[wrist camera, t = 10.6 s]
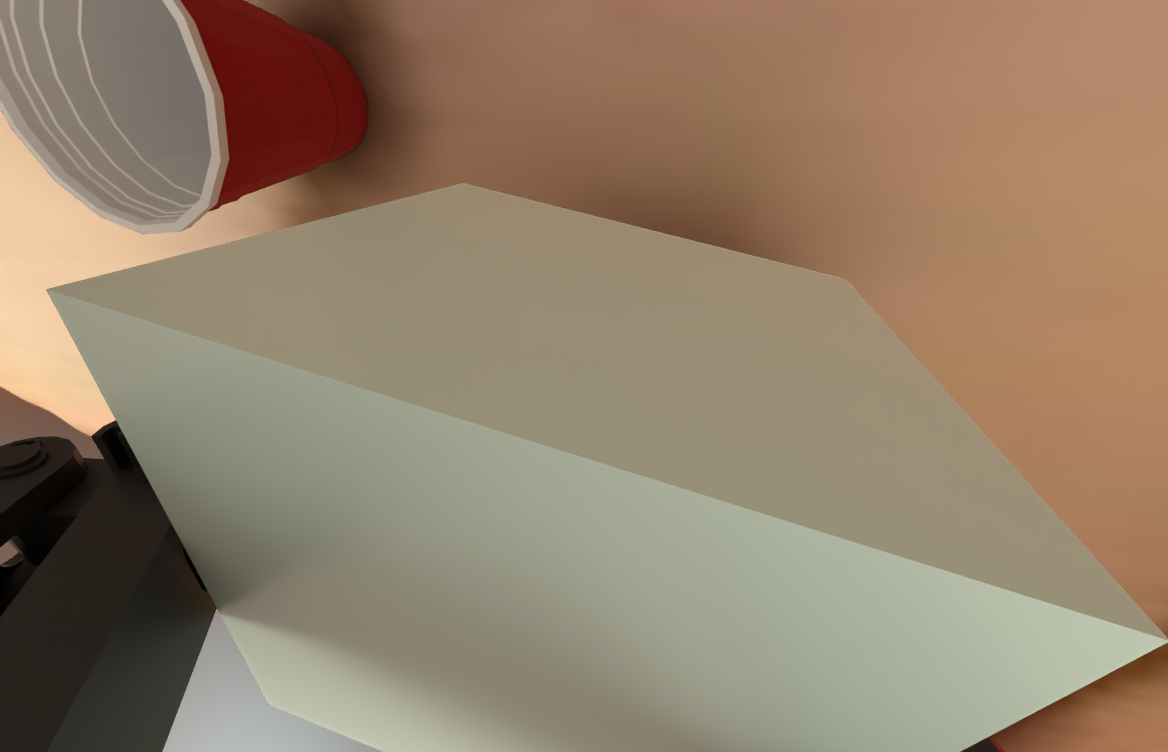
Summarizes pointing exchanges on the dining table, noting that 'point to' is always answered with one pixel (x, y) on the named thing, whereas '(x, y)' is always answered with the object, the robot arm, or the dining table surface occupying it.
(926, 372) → the pale green brick
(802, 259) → the dining table surface
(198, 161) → the plastic cup
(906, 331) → the dining table surface
